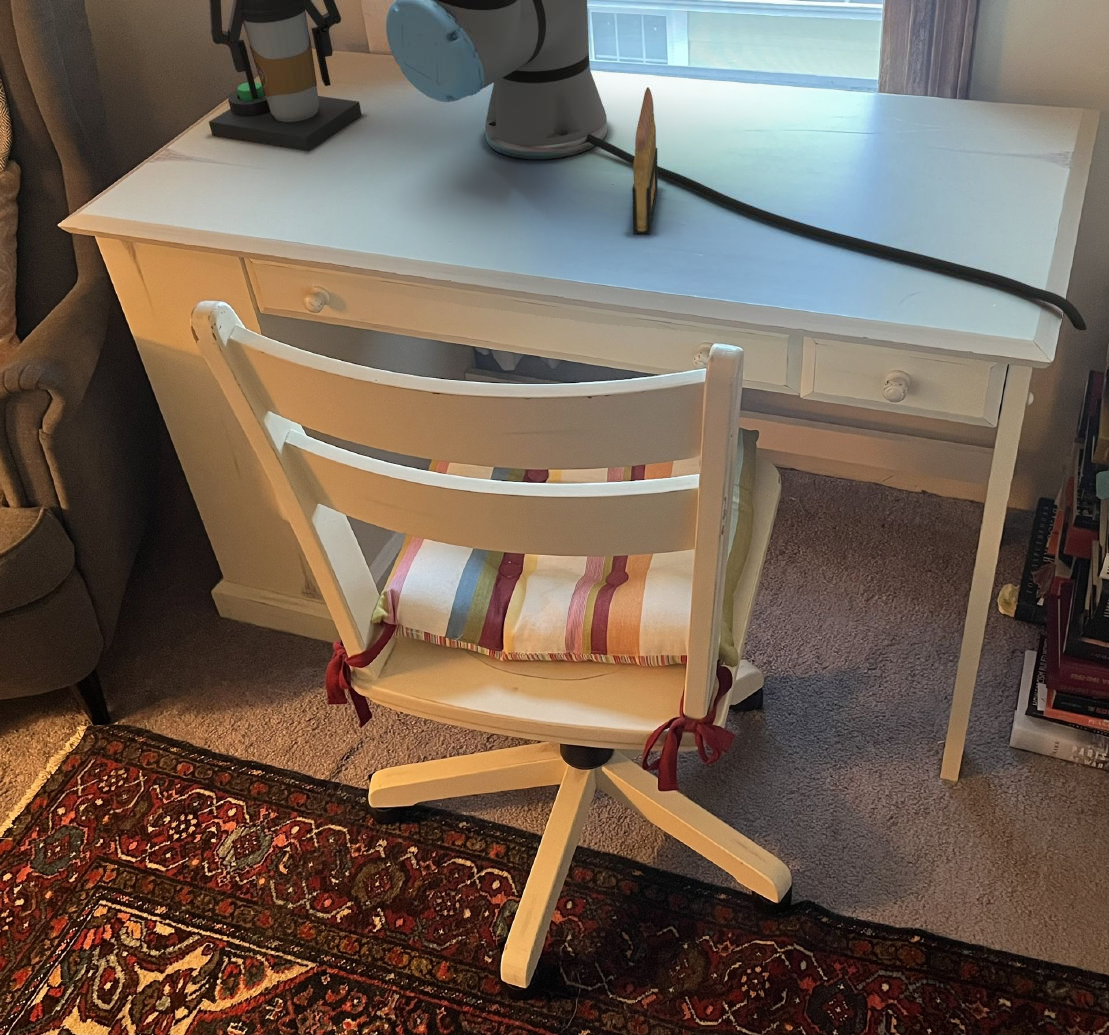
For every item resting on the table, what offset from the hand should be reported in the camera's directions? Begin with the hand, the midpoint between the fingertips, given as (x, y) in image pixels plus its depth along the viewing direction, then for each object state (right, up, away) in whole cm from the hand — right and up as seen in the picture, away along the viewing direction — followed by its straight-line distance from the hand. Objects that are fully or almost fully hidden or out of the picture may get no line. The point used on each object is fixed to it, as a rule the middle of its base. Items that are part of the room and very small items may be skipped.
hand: (290, 88), depth 141 cm
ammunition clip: (+45, -22, -21) cm, 54 cm away
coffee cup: (0, -2, +2) cm, 3 cm away
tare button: (-6, 0, +4) cm, 7 cm away
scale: (-1, -3, +4) cm, 5 cm away
